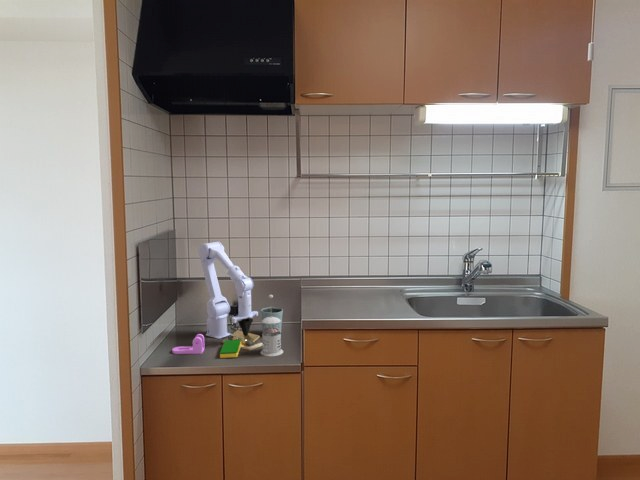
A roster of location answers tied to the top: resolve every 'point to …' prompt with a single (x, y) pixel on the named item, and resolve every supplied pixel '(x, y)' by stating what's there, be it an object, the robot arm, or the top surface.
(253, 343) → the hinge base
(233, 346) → the dish sponge
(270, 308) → the drinking glass
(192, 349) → the bracket
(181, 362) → the top surface
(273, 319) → the french press
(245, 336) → the strip
